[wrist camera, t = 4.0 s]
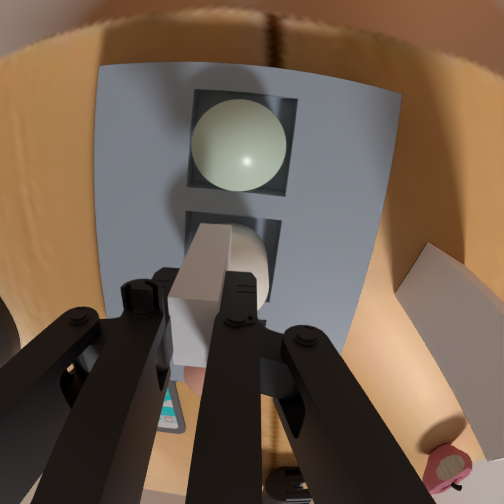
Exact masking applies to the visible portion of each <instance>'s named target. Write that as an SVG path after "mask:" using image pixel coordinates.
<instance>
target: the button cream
mask: <svg viewBox="0 0 504 504" xmlns="http://www.w3.org/2000/svg"><path fill="white" fill-rule="evenodd" d="M219 224H221V225H232V237H231V258H230V271H240V272H252V274H253V275H254V276H255V277H256V279H257V311H258V310H259V309H260V308H261V306H262V305H263V304H264V302H265V300H266V298H267V295H268V291H269V277H268V261H267V251H266V247H265V244H264V242H263V241H262V239H261V238H260V236H259V235H258V234H257V233H256V232H255V231H253V230H252V229H251V228H249V227H247V226H245V225H242V224H239V223H234V222H224V223H219Z"/></svg>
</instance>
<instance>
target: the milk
mask: <svg viewBox="0 0 504 504" xmlns="http://www.w3.org/2000/svg"><path fill="white" fill-rule="evenodd" d="M394 295H395V297H396V298H397V300H398V301H399V303H400V304H401V306H402V307H403V309H404V310H405V312H406V314H407V315H408V317H409V318H410V320H411V321H412V323H413V325H414V326H415V328H416V329H417V331H418V333H419V334H420V336H421V338H422V339H423V341H424V342H425V344H426V346H427V347H428V349H429V351H430V353H431V354H432V356H433V358H434V359H435V361H436V363H437V364H438V366H439V368H440V370H441V371H442V373H443V375H444V377H445V379H446V380H447V382H448V384H449V386H450V388H451V389H452V391H453V393H454V395H455V397H456V399H457V401H458V402H459V404H460V406H461V408H462V410H463V412H464V414H465V416H466V418H467V420H468V422H469V424H470V426H471V428H472V430H473V432H474V434H475V436H476V438H477V440H478V442H479V444H480V446H481V449H482V451H483V453H484V455H485V457H486V459H487V461H497V460H503V459H504V302H503V301H502V300H501V299H500V298H499V297H498V296H497V295H496V294H495V293H494V292H493V291H492V290H491V289H490V288H489V287H488V286H487V285H486V284H484V283H483V282H482V281H481V280H480V279H479V278H478V277H477V276H476V275H475V274H474V273H473V272H472V271H470V270H469V269H468V268H467V267H466V266H465V265H463V264H462V263H460V262H459V261H457V260H456V259H454V258H453V257H451V256H450V255H448V254H446V253H445V252H443V251H442V250H440V249H439V248H437V247H435V246H434V245H432V244H431V243H429V242H428V243H427V244H426V246H425V247H424V249H423V251H422V252H421V254H420V256H419V257H418V259H417V260H416V262H415V264H414V265H413V267H412V268H411V270H410V271H409V273H408V274H407V276H406V277H405V279H404V281H403V282H402V284H401V285H400V286H399V288H398V289H397V291H396V292H395V294H394Z"/></svg>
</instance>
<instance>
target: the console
mask: <svg viewBox="0 0 504 504" xmlns="http://www.w3.org/2000/svg"><path fill="white" fill-rule="evenodd" d="M235 99H244V100H250V101H253V102H256V103H259V104H261V105H263V106H264V107H266V108H267V109H269V110H270V111H271V112H272V113H273V114H274V115H275V116H276V117H277V119H278V120H279V122H280V123H281V125H282V127H283V130H284V133H285V138H286V153H285V157H284V160H283V163H282V165H281V167H280V169H279V170H278V172H277V173H276V174H275V175H274V177H273V178H271V179H270V180H269V181H268V182H267V183H265V184H264V185H262V186H260V187H258V188H255V189H252V190H247V191H230V190H226V189H222V188H220V187H218V186H216V185H214V184H212V183H211V182H210V181H208V180H207V179H206V178H205V177H204V176H203V175H202V174H201V172H200V171H199V170H198V168H197V166H196V164H195V162H194V159H193V155H192V148H191V144H192V136H193V132H194V129H195V127H196V125H197V123H198V121H199V120H200V118H201V117H202V116H203V115H204V114H205V113H206V112H207V111H208V110H209V109H211V108H212V107H213V106H215V105H217V104H219V103H222V102H224V101H228V100H235ZM401 100H402V94H400V93H397V92H393V91H390V90H386V89H382V88H379V87H375V86H371V85H367V84H363V83H358V82H354V81H349V80H345V79H340V78H335V77H330V76H325V75H320V74H314V73H308V72H302V71H295V70H288V69H281V68H273V67H264V66H255V65H243V64H230V63H211V62H146V63H128V64H115V65H104V66H99V74H98V84H97V96H96V111H95V133H94V192H95V215H96V230H97V243H98V253H99V263H100V272H101V280H102V288H103V295H104V302H105V309H106V315H107V319H109V318H117V317H120V316H121V314H122V312H123V311H124V309H123V303H122V296H121V289H120V287H121V286H122V285H123V284H124V283H126V282H129V281H131V280H135V279H152V277H153V275H154V273H155V272H156V271H158V270H159V269H161V268H162V267H170V268H180V267H181V265H182V263H183V261H184V258H185V256H186V254H187V252H188V249H189V247H190V245H191V243H192V241H193V239H194V236H195V234H196V232H197V230H198V228H199V226H200V223H204V224H219V223H224V222H234V223H239V224H242V225H245V226H247V227H249V228H251V229H252V230H253V231H255V232H256V233H257V234H258V235H259V236H260V238H261V239H262V241H263V242H264V244H265V247H266V251H267V261H268V277H269V291H268V295H267V298H266V300H265V302H264V304H263V305H262V306H261V308H260V309H259V310H258V311H257V316H258V320H259V321H260V323H261V324H262V325H263V326H265V327H266V328H268V329H270V330H273V331H275V332H279V333H283V334H284V332H285V330H287V329H288V328H290V327H291V326H295V325H309V326H314V327H316V328H318V329H320V330H322V331H323V332H324V333H325V334H326V335H327V336H328V338H329V339H330V341H331V342H332V344H333V345H334V347H335V348H336V350H337V351H338V353H339V354H340V355H341V352H342V349H343V346H344V344H345V341H346V338H347V335H348V332H349V329H350V326H351V323H352V320H353V316H354V313H355V310H356V307H357V304H358V301H359V297H360V294H361V291H362V287H363V284H364V280H365V277H366V273H367V270H368V266H369V262H370V259H371V255H372V251H373V247H374V243H375V239H376V235H377V231H378V227H379V223H380V218H381V214H382V210H383V205H384V200H385V196H386V191H387V186H388V181H389V176H390V171H391V165H392V160H393V154H394V148H395V142H396V136H397V129H398V123H399V115H400V108H401ZM170 368H171V377H170V380H173V381H180V382H185V379H184V375H183V374H184V368H185V366H184V365H175V364H174V362H173V354H172V358H171V361H170Z"/></svg>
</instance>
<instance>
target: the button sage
mask: <svg viewBox="0 0 504 504" xmlns="http://www.w3.org/2000/svg"><path fill="white" fill-rule="evenodd" d="M191 148H192V155H193V159H194V162H195V164H196V166H197V168H198V170H199V171H200V172H201V174H202V175H203V176H204V177H205V178H206V179H207V180H208V181H210V182H211V183H212V184H214V185H216V186H218V187H220V188H222V189H226V190H230V191H247V190H252V189H255V188H258V187H260V186H262V185H264V184H265V183H267V182H268V181H269V180H270V179H271V178H273V177H274V175H275V174H276V173H277V172H278V170H279V169H280V167H281V165H282V163H283V160H284V157H285V153H286V138H285V133H284V130H283V127H282V125H281V123H280V122H279V120H278V119H277V117H276V116H275V115H274V114H273V113H272V112H271V111H270V110H269V109H267V108H266V107H264V106H263V105H261V104H259V103H256V102H253V101H250V100H244V99H235V100H228V101H224V102H222V103H219V104H217V105H215V106H213V107H212V108H211V109H209V110H208V111H207V112H206V113H205V114H204V115H203V116H202V117H201V118H200V120H199V121H198V123H197V125H196V127H195V129H194V132H193V136H192V144H191Z"/></svg>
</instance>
